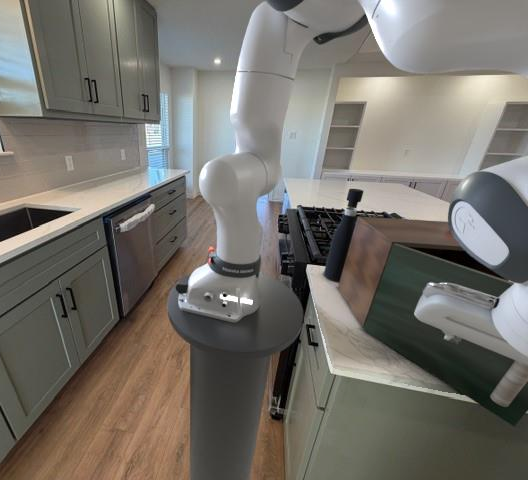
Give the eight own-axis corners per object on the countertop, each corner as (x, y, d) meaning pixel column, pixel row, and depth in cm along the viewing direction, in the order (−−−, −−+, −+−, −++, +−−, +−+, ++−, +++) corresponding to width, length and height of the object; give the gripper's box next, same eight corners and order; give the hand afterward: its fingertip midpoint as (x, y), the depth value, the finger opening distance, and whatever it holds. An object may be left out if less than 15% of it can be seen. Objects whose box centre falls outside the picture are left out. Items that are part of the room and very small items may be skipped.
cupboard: (474, 338, 62) (526, 250, 52) (362, 327, 64) (392, 241, 55) (425, 295, 78) (457, 222, 69) (337, 287, 81) (357, 216, 71)
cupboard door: (502, 448, 40) (599, 333, 30) (347, 339, 60) (376, 250, 51) (516, 423, 43) (606, 313, 34) (365, 328, 64) (395, 243, 54)
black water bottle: (319, 273, 89) (339, 188, 77) (334, 270, 91) (355, 187, 79) (333, 282, 83) (356, 192, 71) (348, 280, 85) (373, 191, 73)
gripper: (421, 299, 30) (399, 334, 40) (781, 433, 18) (618, 435, 28) (437, 259, 32) (412, 302, 42) (772, 353, 20) (623, 382, 30)
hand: (496, 356), depth 35 cm, fingers open, 8 cm apart
